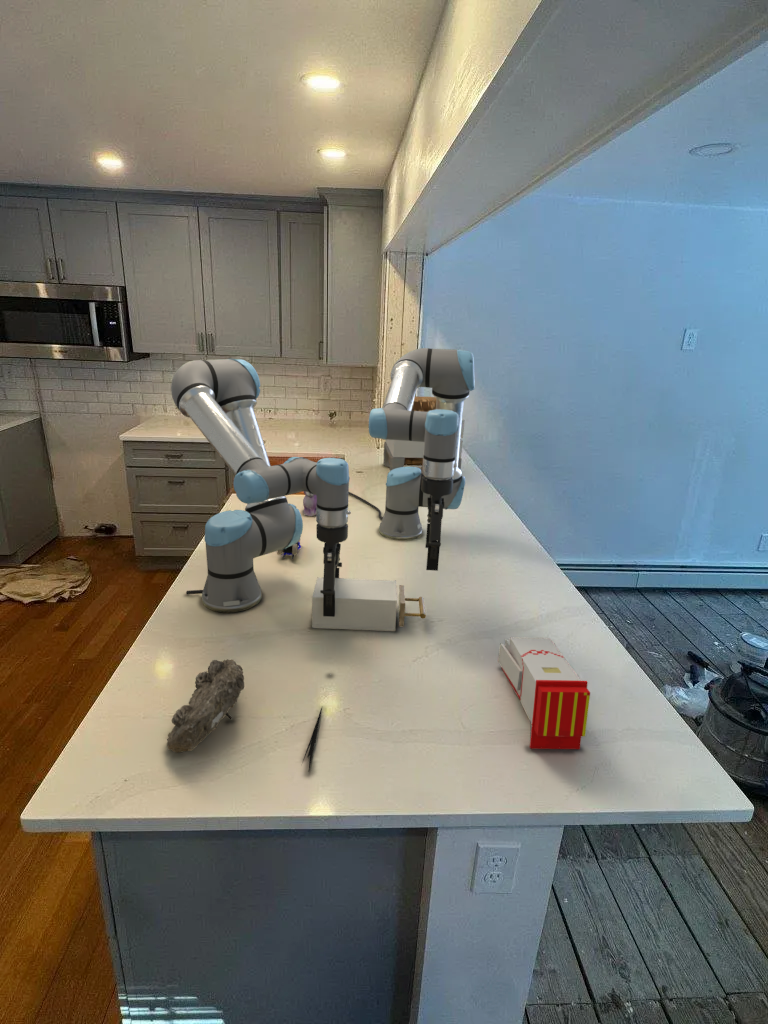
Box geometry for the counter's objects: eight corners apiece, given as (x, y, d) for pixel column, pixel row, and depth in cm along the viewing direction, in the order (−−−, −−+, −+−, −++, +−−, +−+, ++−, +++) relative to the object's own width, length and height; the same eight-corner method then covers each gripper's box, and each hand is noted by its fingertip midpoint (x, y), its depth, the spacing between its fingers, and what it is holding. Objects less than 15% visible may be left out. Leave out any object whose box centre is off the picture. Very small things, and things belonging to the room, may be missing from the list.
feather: (331, 679, 122) (336, 673, 122) (307, 777, 96) (313, 769, 95) (324, 675, 122) (329, 669, 121) (298, 772, 95) (304, 764, 95)
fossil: (192, 660, 117) (244, 628, 112) (224, 691, 120) (276, 661, 115) (142, 746, 98) (202, 712, 93) (182, 779, 101) (242, 748, 96)
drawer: (422, 608, 149) (424, 586, 147) (425, 627, 140) (427, 604, 138) (330, 604, 149) (330, 582, 146) (326, 623, 140) (326, 600, 137)
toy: (546, 620, 128) (599, 688, 99) (541, 675, 131) (591, 756, 102) (493, 619, 128) (531, 687, 99) (489, 674, 131) (524, 755, 101)
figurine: (306, 518, 210) (306, 479, 205) (297, 509, 219) (297, 471, 214) (330, 515, 214) (330, 476, 209) (320, 506, 223) (320, 469, 218)
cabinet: (394, 609, 150) (396, 580, 147) (395, 631, 140) (396, 600, 137) (317, 606, 150) (317, 577, 147) (312, 628, 139) (312, 597, 136)
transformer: (382, 463, 289) (386, 382, 275) (445, 464, 293) (451, 384, 279) (390, 482, 257) (394, 392, 243) (460, 483, 261) (468, 394, 247)
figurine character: (298, 566, 175) (304, 542, 188) (297, 544, 171) (303, 521, 185) (276, 565, 174) (283, 541, 188) (275, 544, 171) (282, 521, 184)
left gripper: (344, 543, 124) (342, 628, 131) (350, 506, 147) (349, 581, 155) (310, 542, 124) (310, 627, 131) (322, 505, 147) (321, 580, 154)
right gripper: (457, 492, 123) (449, 581, 130) (450, 464, 146) (444, 540, 153) (422, 490, 123) (416, 579, 130) (421, 462, 146) (416, 538, 153)
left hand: (331, 602), depth 143 cm, fingers open, 12 cm apart
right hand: (431, 558), depth 142 cm, fingers open, 13 cm apart
